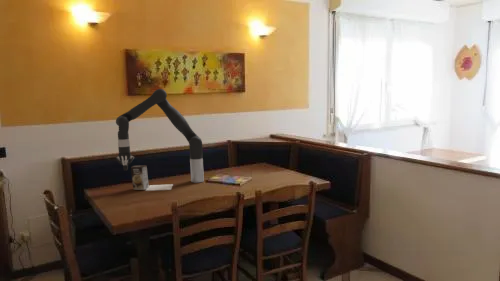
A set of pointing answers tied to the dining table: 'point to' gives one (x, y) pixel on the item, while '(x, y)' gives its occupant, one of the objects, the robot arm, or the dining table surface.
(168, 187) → the mat
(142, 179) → the coffee box
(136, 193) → the dining table surface
